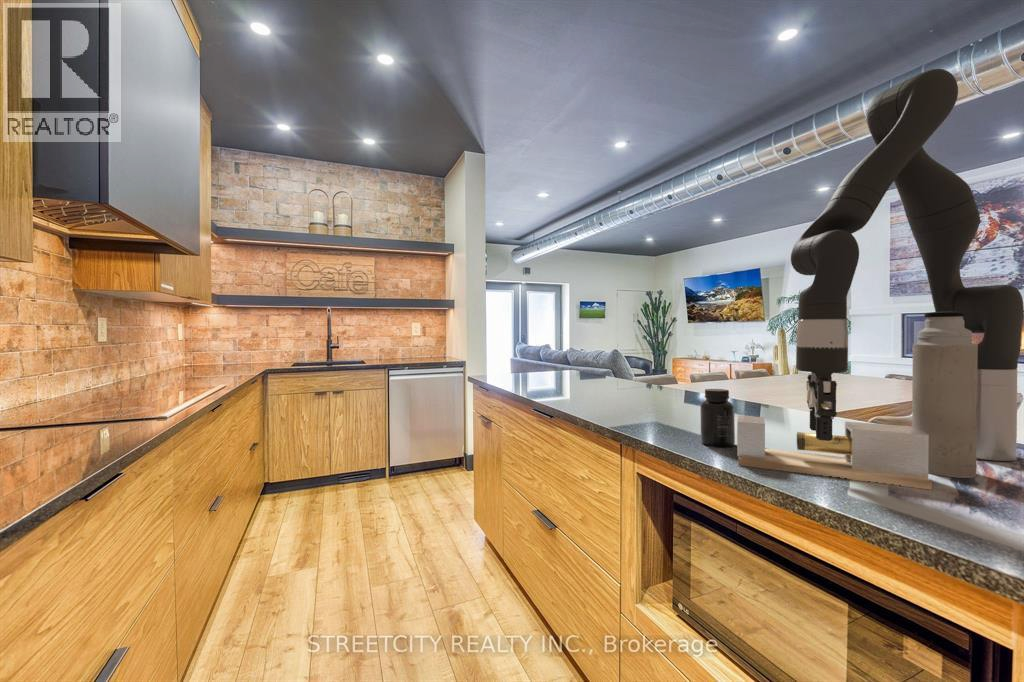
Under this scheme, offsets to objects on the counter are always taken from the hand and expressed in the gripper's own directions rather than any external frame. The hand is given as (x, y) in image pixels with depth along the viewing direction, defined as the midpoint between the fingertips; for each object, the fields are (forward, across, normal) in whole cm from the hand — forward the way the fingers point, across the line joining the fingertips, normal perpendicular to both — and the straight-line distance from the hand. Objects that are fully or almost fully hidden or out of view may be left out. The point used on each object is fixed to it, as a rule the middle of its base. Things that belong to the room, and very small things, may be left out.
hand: (820, 435), depth 77 cm
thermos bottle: (+6, +8, -19) cm, 21 cm away
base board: (+6, 0, 0) cm, 6 cm away
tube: (+3, 0, -5) cm, 6 cm away
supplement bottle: (+6, +10, +17) cm, 21 cm away
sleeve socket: (+5, 0, 0) cm, 5 cm away
